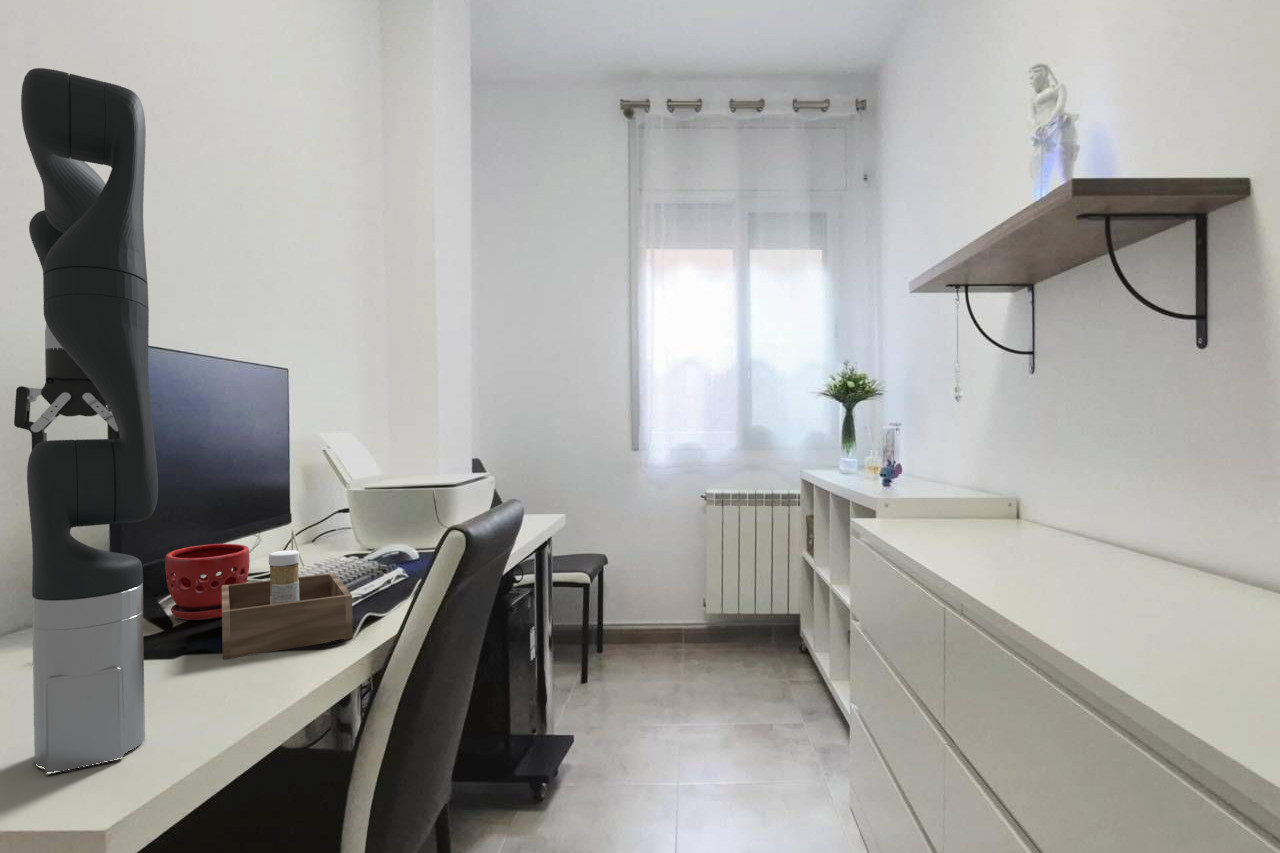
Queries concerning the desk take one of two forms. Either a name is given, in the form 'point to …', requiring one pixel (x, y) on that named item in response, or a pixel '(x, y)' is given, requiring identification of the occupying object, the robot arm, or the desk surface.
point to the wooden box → (284, 616)
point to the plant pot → (204, 594)
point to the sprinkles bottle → (284, 576)
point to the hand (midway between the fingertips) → (79, 457)
